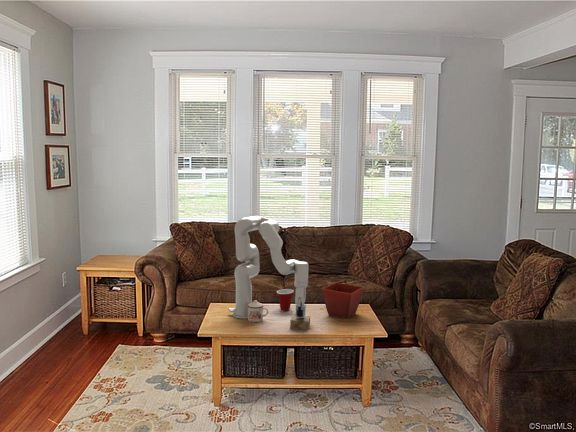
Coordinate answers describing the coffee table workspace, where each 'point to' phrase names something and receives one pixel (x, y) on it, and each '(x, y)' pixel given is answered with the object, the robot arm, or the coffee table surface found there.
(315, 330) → the coffee table surface
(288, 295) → the plastic cup
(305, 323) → the walnut plinth
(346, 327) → the coffee table surface
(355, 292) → the plant pot
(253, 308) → the teacup with lid
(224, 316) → the coffee table surface
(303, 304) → the slate block
